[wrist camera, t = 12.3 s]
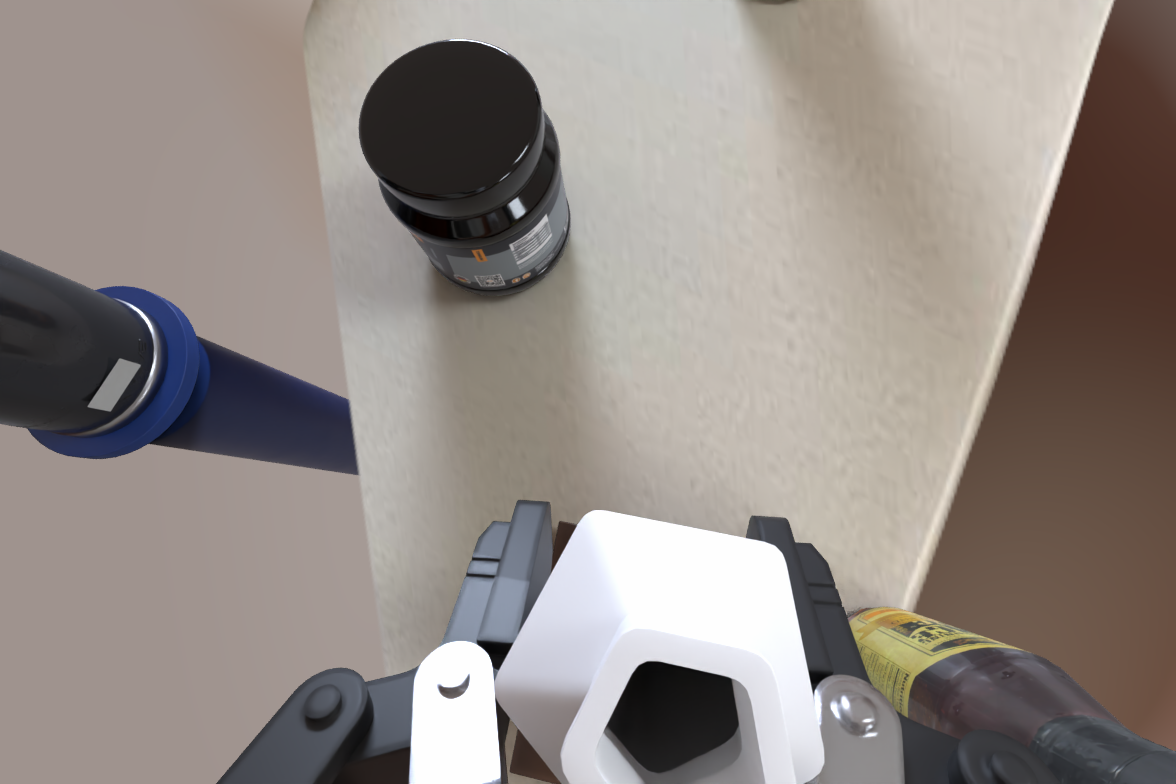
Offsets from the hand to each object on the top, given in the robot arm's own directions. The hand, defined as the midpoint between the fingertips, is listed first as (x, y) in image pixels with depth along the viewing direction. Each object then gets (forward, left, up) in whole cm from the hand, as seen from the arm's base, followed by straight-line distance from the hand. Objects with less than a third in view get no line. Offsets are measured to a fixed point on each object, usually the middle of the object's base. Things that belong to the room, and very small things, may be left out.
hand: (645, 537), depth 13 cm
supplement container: (-13, +18, -22) cm, 32 cm away
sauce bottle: (+15, -5, -22) cm, 27 cm away
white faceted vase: (0, -2, -8) cm, 8 cm away
